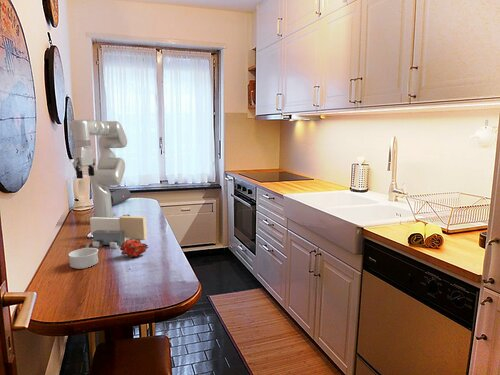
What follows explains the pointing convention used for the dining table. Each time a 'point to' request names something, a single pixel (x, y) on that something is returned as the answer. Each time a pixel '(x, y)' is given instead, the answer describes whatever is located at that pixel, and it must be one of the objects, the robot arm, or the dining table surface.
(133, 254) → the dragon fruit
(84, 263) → the saucepan
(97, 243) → the white rack
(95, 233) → the grey metal block
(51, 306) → the dining table surface
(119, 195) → the bluetooth speaker
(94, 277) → the dining table surface
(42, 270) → the dining table surface
